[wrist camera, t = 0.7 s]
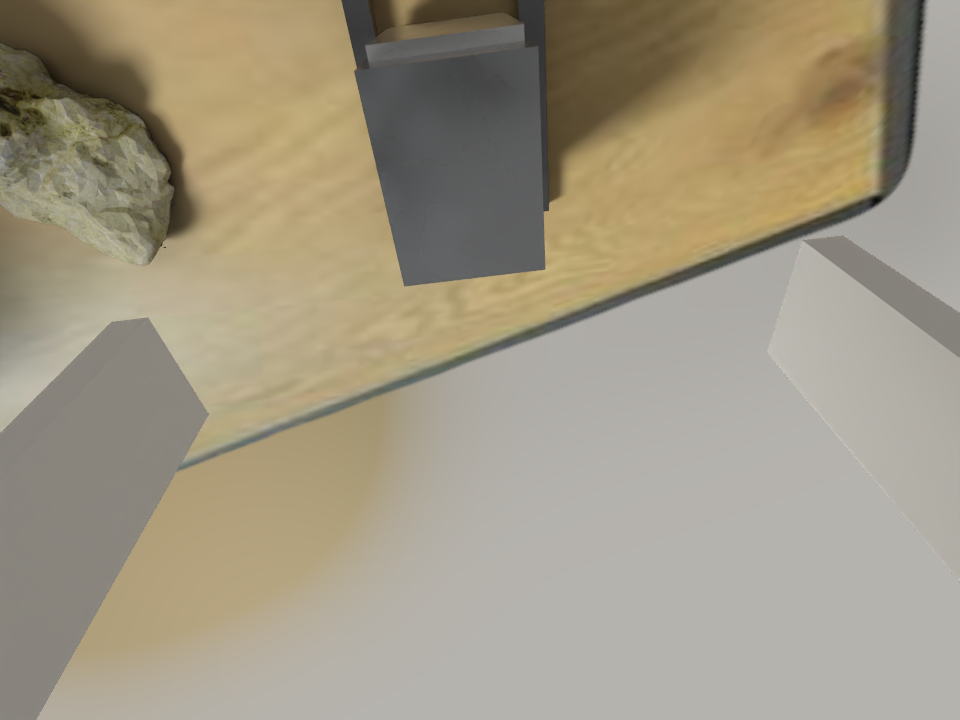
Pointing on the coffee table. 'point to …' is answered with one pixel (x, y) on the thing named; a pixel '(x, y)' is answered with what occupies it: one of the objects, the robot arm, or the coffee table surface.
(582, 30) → the coffee table surface
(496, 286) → the coffee table surface
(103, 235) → the rock
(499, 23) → the grey stepped block
